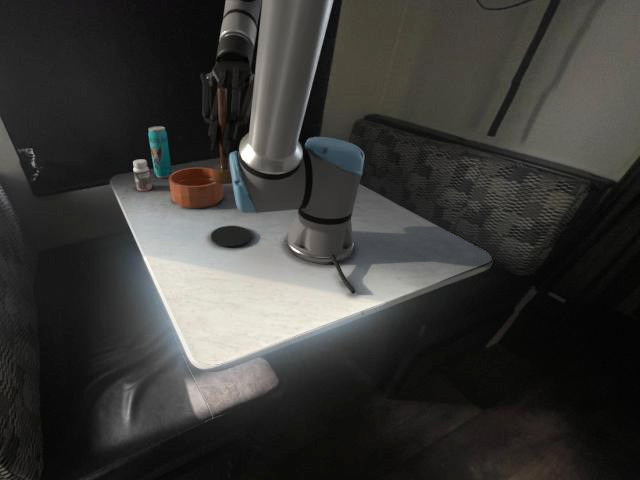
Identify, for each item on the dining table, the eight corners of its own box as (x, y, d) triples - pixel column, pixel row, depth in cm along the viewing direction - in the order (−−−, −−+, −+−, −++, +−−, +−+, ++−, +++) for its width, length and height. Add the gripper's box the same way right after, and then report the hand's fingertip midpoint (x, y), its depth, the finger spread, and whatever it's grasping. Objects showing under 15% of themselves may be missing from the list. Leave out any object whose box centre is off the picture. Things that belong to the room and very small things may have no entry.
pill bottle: (136, 186, 108) (130, 159, 102) (150, 184, 109) (146, 157, 103) (138, 191, 104) (132, 164, 99) (153, 189, 106) (148, 162, 100)
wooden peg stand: (235, 184, 75) (234, 90, 63) (212, 184, 75) (207, 90, 63) (236, 175, 78) (235, 86, 67) (214, 175, 79) (209, 86, 67)
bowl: (222, 209, 94) (221, 187, 90) (167, 209, 95) (164, 186, 91) (225, 188, 106) (224, 167, 102) (176, 188, 107) (173, 167, 102)
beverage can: (152, 177, 113) (144, 129, 104) (160, 172, 118) (152, 125, 108) (167, 179, 112) (160, 131, 102) (174, 173, 116) (168, 126, 107)
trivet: (251, 248, 79) (251, 246, 78) (209, 247, 79) (209, 245, 78) (251, 227, 86) (251, 225, 86) (212, 227, 86) (212, 225, 86)
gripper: (271, 62, 73) (256, 165, 72) (207, 61, 76) (190, 160, 74) (269, 32, 66) (252, 146, 64) (197, 32, 68) (179, 141, 67)
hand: (219, 153), depth 69 cm, fingers closed on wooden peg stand, 2 cm apart
